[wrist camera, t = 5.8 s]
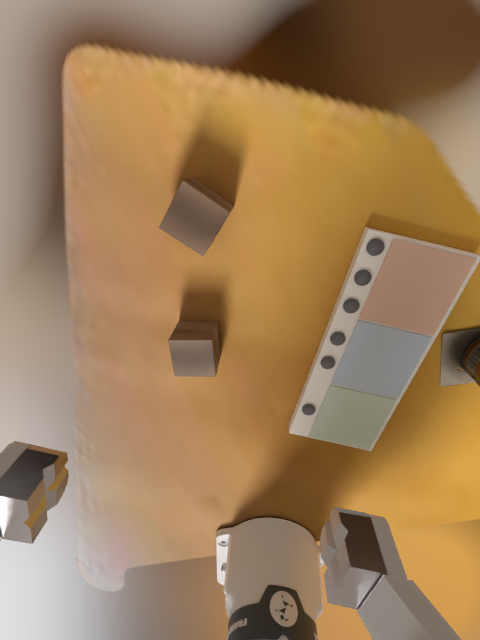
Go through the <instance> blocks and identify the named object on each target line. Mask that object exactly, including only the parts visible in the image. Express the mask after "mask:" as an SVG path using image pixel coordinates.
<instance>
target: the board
mask: <svg viewBox="0 0 480 640" xmlns="http://www.w3.org/2000/svg"><path fill="white" fill-rule="evenodd" d="M479 262H480V255H478V254H476V253H473V252H469V251H464V250H460V249H456V248H452V247H448V246H443V245H439V244H435V243H431V242H427V241H423V240H418V239H414V238H410V237H406V236H402V235H397V234H393V233H389V232H385V231H381V230H376V229H372V228H368V227H365V228H364V231H363V233H362V236H361V238H360V241H359V244H358V246H357V249H356V251H355V254H354V257H353V259H352V262H351V264H350V267H349V270H348V272H347V275H346V277H345V280H344V283H343V285H342V288H341V290H340V293H339V296H338V298H337V301H336V303H335V306H334V309H333V311H332V314H331V316H330V319H329V322H328V324H327V327H326V329H325V332H324V335H323V337H322V340H321V342H320V345H319V348H318V350H317V353H316V355H315V358H314V361H313V363H312V366H311V368H310V371H309V374H308V376H307V379H306V381H305V384H304V387H303V389H302V392H301V394H300V397H299V400H298V402H297V405H296V407H295V410H294V413H293V415H292V418H291V420H290V423H289V426H288V429H289V433H291V434H296V435H300V436H305V437H309V438H314V439H318V440H323V441H327V442H332V443H336V444H341V445H345V446H350V447H354V448H359V449H363V450H368V451H372V449H373V447H374V445H375V444H376V442H377V440H378V438H379V437H380V435H381V433H382V431H383V430H384V428H385V426H386V424H387V423H388V421H389V419H390V417H391V416H392V414H393V412H394V410H395V409H396V407H397V405H398V403H399V402H400V400H401V398H402V396H403V395H404V393H405V391H406V389H407V388H408V386H409V384H410V382H411V381H412V379H413V377H414V375H415V374H416V372H417V370H418V368H419V367H420V365H421V363H422V361H423V360H424V358H425V356H426V354H427V353H428V351H429V349H430V347H431V346H432V344H433V342H434V340H435V339H436V337H437V335H438V333H439V332H440V330H441V328H442V326H443V325H444V323H445V321H446V319H447V318H448V316H449V314H450V312H451V311H452V309H453V307H454V305H455V304H456V302H457V300H458V298H459V297H460V295H461V293H462V291H463V290H464V288H465V286H466V284H467V283H468V281H469V279H470V277H471V276H472V274H473V272H474V270H475V269H476V267H477V265H478V263H479Z"/></svg>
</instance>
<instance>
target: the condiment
mask: <svg viewBox="0 0 480 640" xmlns="http://www.w3.org/2000/svg"><path fill="white" fill-rule="evenodd" d="M471 337H473V338H472V339H471ZM440 366H441V375H440V379H441V381H440V387H441V386H450V385H459V384H464V383H472V382H476V383H477V384H478V385H479V386H480V328H478V329H469V330H462V331H457V332H453V333H445V334H443V338H442V352H441V365H440ZM458 367H460V368H461V369H463V371H462V370H461V369H458Z"/></svg>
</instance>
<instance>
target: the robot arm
mask: <svg viewBox="0 0 480 640" xmlns="http://www.w3.org/2000/svg"><path fill="white" fill-rule="evenodd" d="M67 457H68V456H67V453H66V452H62V451H57V450H53V449H48V448H44V447H40V446H35V445H31V444H27V443H21V442H17V441H14V442H13V443H11V444H9V445H8V446H7V447H6V448H5V449H4V450H3V451H2V452H1V453H0V538H1V539H7V540H13V541H19V542H25V543H31V544H32V543H33V542H34V540H35V539H36V537H37V536H38V534H39V532H40V531H41V529H42V527H43V526H44V524H45V523H46V521H47V510H49V509H51V508H52V507H54V506H55V505H57V503H58V502H59V500H60V498H61V497H62V495H63V492H64V490H65V488H66V485H67V481H68V470H67V469H66V468H65V464H66V463H67V461H68V458H67ZM329 515H330V521H329V522H327V523H325V524H324V526H323V528H322V530H321V537H320V547H319V546H318V545H317V544H316V542H315V540H314V538H313V536H312V535H311V534H310V532H309V531H308V530H306V529H305V528H304V527H302V526H300V525H298V524H296V523H294V522H291V521H288V520H284V519H279V518H257V519H252V520H248V521H245V522H243V523H241V524H239V525H237V526H235V527H230V528H224V529H220V530H218V531H217V533H216V552H217V581H218V582H219V583H220V584H222V585H223V586H224V593H225V594H226V612H227V614H228V617H229V623H228V633H227V640H318V637H317V629H316V624H315V620H316V619H317V618H318V617H319V616H320V614H321V613H322V612H323V599H322V583H321V569H320V567H321V566H322V565H323V564H324V563H325V564H326V566H327V567H328V568H327V570H326V572H325V574H324V580H325V587H326V594H327V600H328V603H331V604H335V605H340V606H344V607H348V608H352V609H357V610H358V611H357V612H358V614H359V616H360V618H361V619H362V621H363V623H364V625H365V626H366V628H367V630H368V632H369V634H370V635H371V637H372V639H373V640H461V639H460V637H459V636H458V635H457V634H456V633H455V631H454V630H453V629H452V628H451V627H450V625H449V624H448V623H447V622H446V620H445V619H444V618H443V617H442V616H441V614H440V613H439V612H438V611H437V610H436V608H435V607H434V606H433V605H432V603H431V602H430V601H429V600H428V599H427V597H426V596H425V595H424V594H423V593H422V591H421V590H420V589H419V588H418V587H417V585H416V584H415V583H414V582H413V581H412V580H408V579H407V576H406V574H405V571H404V568H403V565H402V562H401V559H400V557H399V553H398V550H397V548H396V545H395V542H394V539H393V536H392V533H391V530H390V528H389V525H388V522H387V520H386V519H385V518H384V517H381V516H375V515H370V514H366V513H363V512H357V511H352V510H347V509H342V508H336V507H335V508H333V509H332V510H331V512H330V514H329Z"/></svg>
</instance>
